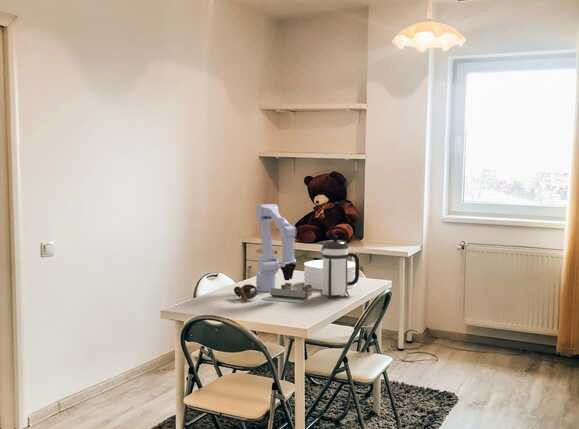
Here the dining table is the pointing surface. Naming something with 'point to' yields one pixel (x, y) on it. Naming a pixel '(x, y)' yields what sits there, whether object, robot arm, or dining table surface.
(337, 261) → the coffee press
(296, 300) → the mat
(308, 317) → the dining table surface
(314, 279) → the plate stack
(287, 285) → the bracket left
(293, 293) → the rail
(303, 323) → the dining table surface
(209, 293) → the dining table surface
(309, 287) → the bracket right
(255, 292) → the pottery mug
